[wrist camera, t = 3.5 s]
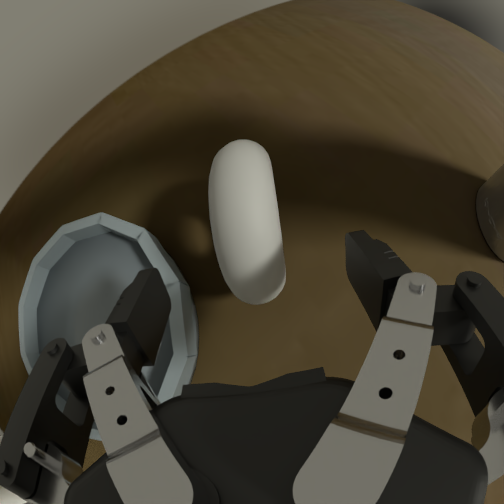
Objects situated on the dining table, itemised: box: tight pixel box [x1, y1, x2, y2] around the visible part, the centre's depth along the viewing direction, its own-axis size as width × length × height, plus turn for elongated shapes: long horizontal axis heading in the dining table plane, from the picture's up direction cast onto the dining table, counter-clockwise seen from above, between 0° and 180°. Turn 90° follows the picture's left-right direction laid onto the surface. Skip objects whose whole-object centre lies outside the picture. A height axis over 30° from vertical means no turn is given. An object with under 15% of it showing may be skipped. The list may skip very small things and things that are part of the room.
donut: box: [208, 140, 286, 305], centre depth 17 cm, size 10×4×10 cm, turn 5°
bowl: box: [19, 212, 199, 441], centre depth 19 cm, size 19×19×3 cm
